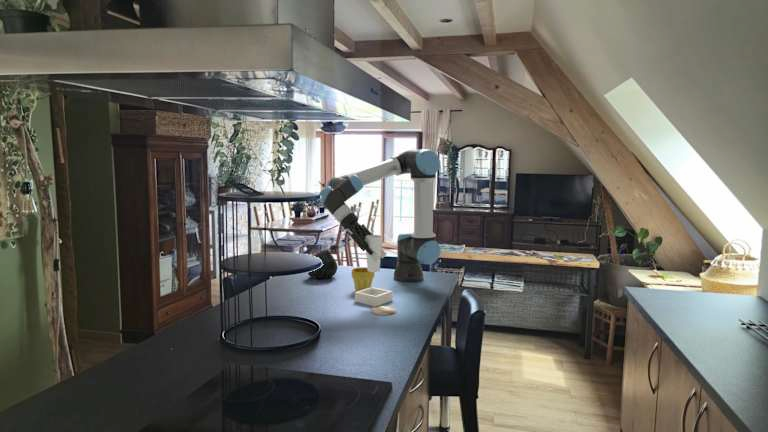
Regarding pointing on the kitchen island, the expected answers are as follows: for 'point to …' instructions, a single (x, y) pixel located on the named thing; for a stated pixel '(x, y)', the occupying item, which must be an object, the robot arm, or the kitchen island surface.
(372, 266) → the white cup
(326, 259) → the squash
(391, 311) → the wooden coaster
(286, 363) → the kitchen island surface
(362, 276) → the plant pot
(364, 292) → the square holder
